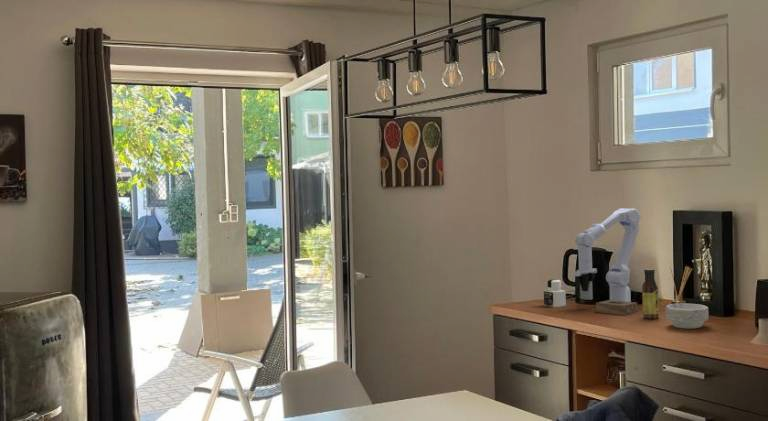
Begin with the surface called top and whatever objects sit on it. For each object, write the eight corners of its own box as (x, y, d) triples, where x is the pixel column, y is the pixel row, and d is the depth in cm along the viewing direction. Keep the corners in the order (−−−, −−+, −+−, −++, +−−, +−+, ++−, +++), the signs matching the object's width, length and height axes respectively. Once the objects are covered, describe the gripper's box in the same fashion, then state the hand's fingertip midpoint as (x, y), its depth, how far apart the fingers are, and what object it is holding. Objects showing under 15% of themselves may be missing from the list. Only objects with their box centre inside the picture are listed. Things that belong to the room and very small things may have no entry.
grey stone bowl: (706, 331, 308) (706, 309, 308) (663, 329, 315) (663, 308, 314) (710, 324, 321) (710, 303, 321) (669, 322, 328) (669, 302, 328)
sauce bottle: (659, 319, 336) (658, 270, 336) (643, 319, 338) (642, 270, 337) (658, 316, 343) (656, 268, 342) (642, 316, 344) (640, 268, 343)
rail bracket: (583, 298, 371) (582, 280, 371) (592, 299, 367) (592, 281, 367) (580, 298, 370) (579, 280, 369) (590, 299, 366) (589, 281, 366)
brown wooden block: (608, 309, 366) (608, 300, 366) (637, 311, 356) (637, 302, 356) (595, 312, 359) (595, 302, 359) (624, 315, 349) (624, 305, 349)
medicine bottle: (543, 305, 383) (543, 279, 383) (556, 304, 386) (555, 278, 386) (553, 307, 376) (552, 281, 376) (566, 306, 379) (565, 279, 379)
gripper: (586, 258, 376) (587, 288, 376) (568, 261, 366) (569, 292, 366) (600, 258, 371) (601, 289, 371) (581, 262, 361) (582, 293, 361)
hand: (586, 290), depth 368 cm, fingers closed on rail bracket, 2 cm apart
